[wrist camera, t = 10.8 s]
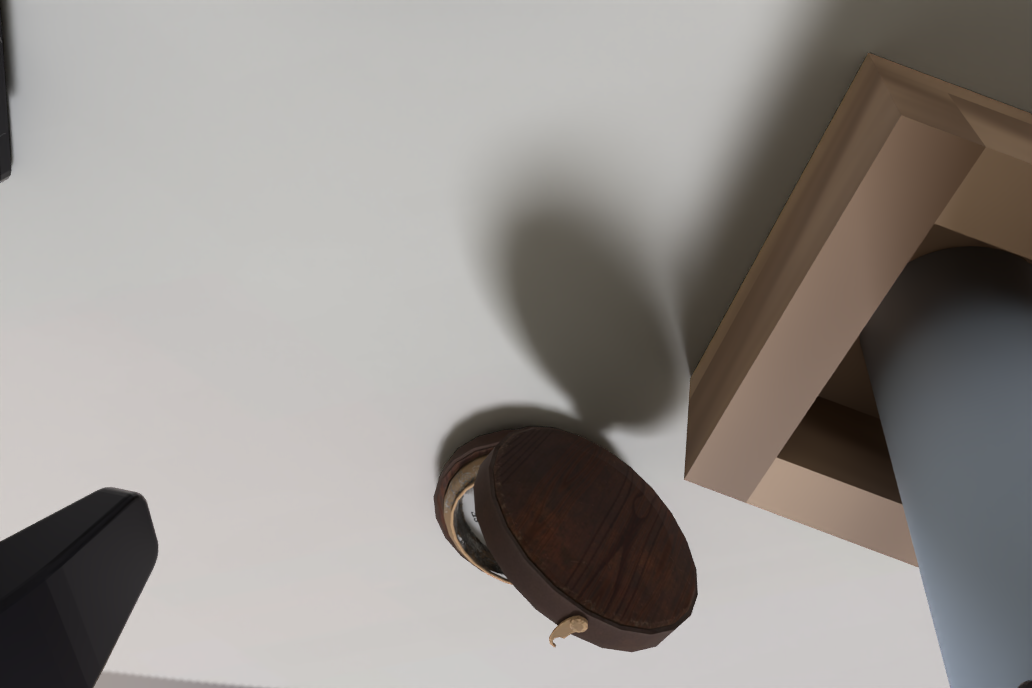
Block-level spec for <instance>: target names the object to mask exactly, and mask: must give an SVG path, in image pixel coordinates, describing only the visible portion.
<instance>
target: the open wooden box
mask: <svg viewBox="0 0 1032 688" xmlns="http://www.w3.org/2000/svg"><path fill="white" fill-rule="evenodd" d="M967 246H976V247H988V248H994V249H999V250H1002V251H1005V252H1009V253H1011V254H1013V255H1016V256H1018V257H1020V258H1022V259H1023V260H1025V261H1027V262H1028V263H1030V264H1031V265H1032V114H1031V113H1029V112H1026V111H1023V110H1021V109H1018V108H1015V107H1013V106H1010V105H1007V104H1005V103H1002V102H999V101H996V100H994V99H991V98H988V97H986V96H983V95H980V94H978V93H975V92H972V91H970V90H967V89H964V88H962V87H959V86H956V85H954V84H951V83H948V82H946V81H943V80H940V79H938V78H935V77H932V76H930V75H927V74H924V73H922V72H919V71H916V70H913V69H911V68H908V67H905V66H903V65H900V64H897V63H895V62H892V61H889V60H887V59H884V58H881V57H879V56H876V55H873V54H871V53H868V54H867V56H866V58H865V60H864V61H863V63H862V65H861V67H860V69H859V71H858V72H857V74H856V76H855V78H854V80H853V82H852V83H851V85H850V87H849V89H848V91H847V93H846V94H845V96H844V98H843V100H842V102H841V104H840V105H839V107H838V109H837V111H836V113H835V115H834V116H833V118H832V120H831V122H830V124H829V126H828V127H827V129H826V131H825V133H824V135H823V137H822V138H821V140H820V142H819V144H818V146H817V148H816V149H815V151H814V153H813V155H812V157H811V159H810V160H809V162H808V164H807V166H806V168H805V169H804V171H803V173H802V175H801V177H800V179H799V180H798V182H797V184H796V186H795V188H794V190H793V191H792V193H791V195H790V197H789V199H788V201H787V202H786V204H785V206H784V208H783V210H782V212H781V213H780V215H779V217H778V219H777V221H776V223H775V224H774V226H773V228H772V230H771V232H770V234H769V235H768V237H767V239H766V241H765V243H764V245H763V246H762V248H761V250H760V252H759V254H758V256H757V257H756V259H755V261H754V263H753V265H752V267H751V268H750V270H749V272H748V274H747V276H746V278H745V279H744V281H743V283H742V285H741V287H740V289H739V290H738V292H737V294H736V296H735V298H734V299H733V301H732V303H731V305H730V307H729V309H728V310H727V312H726V314H725V316H724V318H723V320H722V321H721V323H720V325H719V327H718V329H717V331H716V332H715V334H714V336H713V338H712V340H711V342H710V343H709V345H708V347H707V349H706V351H705V353H704V354H703V356H702V358H701V360H700V362H699V364H698V365H697V367H696V369H695V371H694V373H693V375H692V376H691V378H690V392H689V408H688V424H687V440H686V457H685V473H684V480H686V481H689V482H692V483H695V484H697V485H700V486H703V487H705V488H708V489H711V490H713V491H716V492H719V493H721V494H724V495H727V496H729V497H732V498H735V499H737V500H740V501H743V502H745V503H748V504H751V505H753V506H756V507H759V508H761V509H764V510H767V511H769V512H772V513H775V514H777V515H780V516H783V517H785V518H788V519H791V520H793V521H796V522H799V523H801V524H804V525H807V526H809V527H812V528H815V529H817V530H820V531H823V532H825V533H828V534H831V535H833V536H836V537H839V538H841V539H844V540H847V541H849V542H852V543H855V544H857V545H860V546H863V547H865V548H868V549H871V550H873V551H876V552H879V553H881V554H884V555H887V556H890V557H892V558H895V559H898V560H900V561H903V562H906V563H908V564H911V565H914V566H916V567H919V566H918V562H917V558H916V554H915V550H914V546H913V543H912V539H911V535H910V531H909V527H908V523H907V520H906V516H905V512H904V508H903V504H902V501H901V497H900V493H899V489H898V485H897V481H896V478H895V474H894V470H893V466H892V462H891V458H890V455H889V451H888V447H887V443H886V439H885V435H884V432H883V428H882V424H881V420H880V416H879V412H878V409H877V405H876V401H875V397H874V393H873V390H872V386H871V382H870V378H869V374H868V370H867V367H866V363H865V359H864V355H863V351H862V347H861V344H860V333H861V331H862V330H863V328H864V327H865V326H866V324H867V323H868V321H869V320H870V318H871V317H872V315H873V314H874V312H875V311H876V309H877V308H878V306H879V305H880V303H881V302H882V300H883V299H884V297H885V296H886V294H887V293H888V291H889V290H890V288H891V287H892V286H893V284H894V283H895V281H896V280H897V278H898V277H899V275H900V274H901V272H902V271H903V269H904V268H905V266H906V265H907V263H908V262H910V261H913V260H915V259H917V258H919V257H921V256H924V255H926V254H929V253H932V252H935V251H939V250H943V249H948V248H955V247H967Z"/></svg>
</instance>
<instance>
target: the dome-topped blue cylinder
mask: <svg viewBox="0 0 1032 688" xmlns="http://www.w3.org/2000/svg"><path fill="white" fill-rule="evenodd" d="M860 344H861V347H862V351H863V355H864V359H865V363H866V367H867V370H868V374H869V378H870V382H871V386H872V390H873V393H874V397H875V401H876V405H877V409H878V412H879V416H880V420H881V424H882V428H883V432H884V435H885V439H886V443H887V447H888V451H889V455H890V458H891V462H892V466H893V470H894V474H895V478H896V481H897V485H898V489H899V493H900V497H901V501H902V504H903V508H904V512H905V516H906V520H907V523H908V527H909V531H910V535H911V539H912V543H913V546H914V550H915V554H916V558H917V562H918V566H919V569H920V573H921V577H922V581H923V585H924V589H925V592H926V596H927V600H928V604H929V608H930V611H931V615H932V619H933V623H934V627H935V631H936V634H937V638H938V642H939V646H940V650H941V654H942V657H943V661H944V665H945V669H946V673H947V677H948V680H949V684H950V688H1017V687H1018V686H1019V685H1020V684H1021V683H1023V682H1025V681H1027V680H1032V265H1031V264H1030V263H1028V262H1027V261H1025V260H1023V259H1022V258H1020V257H1018V256H1016V255H1013V254H1011V253H1009V252H1005V251H1002V250H999V249H994V248H988V247H976V246H967V247H955V248H948V249H943V250H939V251H935V252H932V253H929V254H926V255H924V256H921V257H919V258H917V259H915V260H913V261H910V262H908V263H907V265H906V266H905V268H904V269H903V271H902V272H901V274H900V275H899V277H898V278H897V280H896V281H895V283H894V284H893V286H892V287H891V288H890V290H889V291H888V293H887V294H886V296H885V297H884V299H883V300H882V302H881V303H880V305H879V306H878V308H877V309H876V311H875V312H874V314H873V315H872V317H871V318H870V320H869V321H868V323H867V324H866V326H865V327H864V328H863V330H862V331H861V333H860Z"/></svg>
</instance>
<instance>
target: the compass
mask: <svg viewBox="0 0 1032 688" xmlns="http://www.w3.org/2000/svg"><path fill="white" fill-rule="evenodd" d="M434 505H435V514H436V519H437V521H438V523H439V525H440V527H441V530H442V532H443V534H444V536H445V538H446V539H447V540H448V541H449V543H450V544H451V545H452V546H453V547H454V548H455V549H456V551H457V552H458V553H459V554H460V555H461V556H462V557H463V558H465V559H466V560H467V561H469V562H470V563H471V564H473V565H474V566H476V567H477V568H478V569H480V570H481V571H483V572H485V573H487V574H488V575H490V576H492V577H494V578H496V579H498V580H500V581H503V582H505V583H508V584H512V585H514V587H515V588H516V589H517V590H518V591H519V592H520V593H521V594H522V595H523V596H524V597H525V598H526V599H527V600H528V601H529V602H530V604H531V605H532V606H533V607H534V608H535V609H536V610H538V611H539V612H540V613H542V614H543V615H544V616H546V617H547V618H549V619H550V620H551V621H553V622H554V623H555V624H557V625H558V626H557V627H556V628H555V629H554V630H553V632H552V633H551V635H550V637H549V641H550V644H551V645H552V646H553V647H556V645H555V644H554V643H553V639H554V638H557V637H561V638H566V637H567V636H568V635H570V634H572V635H574V636H576V637H579V638H581V639H583V640H585V641H588V642H590V643H592V644H594V645H597V646H599V647H601V648H607V649H614V650H621V651H628V652H635V651H639V650H643V649H647V648H651V647H656V646H657V645H658V644H659V643H660V642H661V641H663V640H664V639H665V638H666V637H667V636H668V635H669V634H670V633H672V632H673V631H674V630H675V629H676V628H677V627H678V626H679V625H680V624H682V623H683V622H684V621H685V620H686V619H687V618H688V617H689V616H691V613H692V610H693V607H694V604H695V601H696V598H697V595H698V591H697V574H696V567H695V564H694V561H693V558H692V555H691V552H690V549H689V546H688V543H687V541H686V538H685V536H684V535H683V533H682V531H681V529H680V527H679V526H678V524H677V522H676V520H675V518H674V517H673V515H672V513H671V512H670V510H669V509H668V508H667V506H666V505H665V504H664V503H663V501H662V500H661V499H660V497H659V496H658V495H657V494H656V492H655V491H654V490H653V488H652V487H650V486H649V485H648V484H647V483H646V482H645V481H644V480H643V479H642V478H641V477H640V476H639V475H638V474H637V473H636V472H635V471H634V470H633V469H632V468H631V467H630V466H628V465H627V464H626V463H624V462H623V461H622V460H620V459H619V458H617V457H616V456H615V455H613V454H612V453H611V452H609V451H608V450H606V449H605V448H603V447H601V446H599V445H597V444H595V443H593V442H591V441H589V440H587V439H585V438H583V437H582V436H578V435H576V434H572V433H569V432H566V431H562V430H559V429H556V428H552V427H533V426H528V427H525V428H521V429H518V430H501V431H497V432H493V433H490V434H486V435H482V436H478V437H476V438H475V439H473V440H471V441H470V442H468V443H466V444H465V445H463V446H461V447H460V448H458V449H457V450H456V452H455V453H454V454H453V455H452V457H451V458H450V459H449V460H448V462H447V463H446V464H445V465H444V468H443V470H442V472H441V475H440V477H439V480H438V484H437V487H436V491H435V494H434Z"/></svg>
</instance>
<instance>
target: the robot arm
mask: <svg viewBox="0 0 1032 688" xmlns="http://www.w3.org/2000/svg"><path fill="white" fill-rule="evenodd" d="M10 175H11V158H10V143H9V129H8V114H7V100H6V85H5V70H4V56H3V41H2V27H1V12H0V183H1V182H3V181H5V180H6V179H8V178H9V176H10ZM157 556H158V541H157V537H156V533H155V530H154V526H153V522H152V519H151V515H150V512H149V508H148V504H147V501H146V499H145V498H144V497H143V496H142V495H141V494H140V493H137V492H133V491H128V490H124V489H119V488H113V487H107V488H102V489H100V490H97V491H95V492H93V493H91V494H90V495H88V496H86V497H84V498H82V499H80V500H78V501H76V502H74V503H72V504H71V505H69V506H67V507H65V508H63V509H61V510H59V511H57V512H55V513H53V514H52V515H50V516H48V517H46V518H44V519H42V520H40V521H38V522H36V523H35V524H33V525H31V526H29V527H27V528H25V529H23V530H21V531H19V532H17V533H16V534H14V535H12V536H10V537H8V538H6V539H4V540H2V541H0V688H93V687H94V686H95V684H96V681H97V680H98V678H99V676H100V674H101V672H102V671H103V669H104V667H105V665H106V663H107V660H108V658H109V656H110V654H111V652H112V650H113V648H114V646H115V644H116V642H117V640H118V638H119V636H120V634H121V632H122V630H123V628H124V626H125V624H126V622H127V620H128V618H129V616H130V614H131V612H132V610H133V608H134V606H135V604H136V602H137V600H138V598H139V596H140V594H141V592H142V590H143V588H144V586H145V584H146V582H147V580H148V578H149V576H150V574H151V572H152V570H153V568H154V566H155V563H156V560H157ZM1017 688H1032V680H1027V681H1025V682H1023V683H1021V684H1020V685H1019V686H1018V687H1017Z"/></svg>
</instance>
